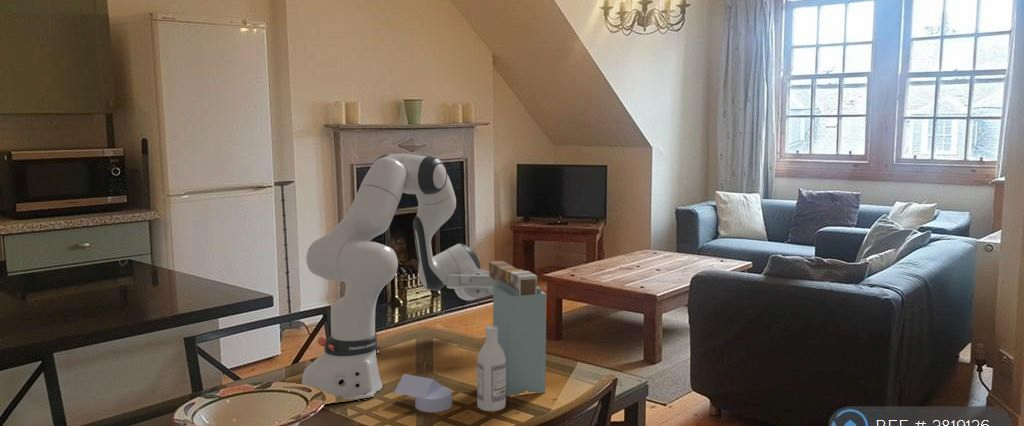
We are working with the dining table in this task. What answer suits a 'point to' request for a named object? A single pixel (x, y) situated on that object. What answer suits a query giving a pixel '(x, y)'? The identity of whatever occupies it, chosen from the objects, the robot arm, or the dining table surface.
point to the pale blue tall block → (521, 337)
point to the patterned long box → (514, 277)
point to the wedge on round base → (425, 393)
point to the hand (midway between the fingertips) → (485, 279)
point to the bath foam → (491, 373)
